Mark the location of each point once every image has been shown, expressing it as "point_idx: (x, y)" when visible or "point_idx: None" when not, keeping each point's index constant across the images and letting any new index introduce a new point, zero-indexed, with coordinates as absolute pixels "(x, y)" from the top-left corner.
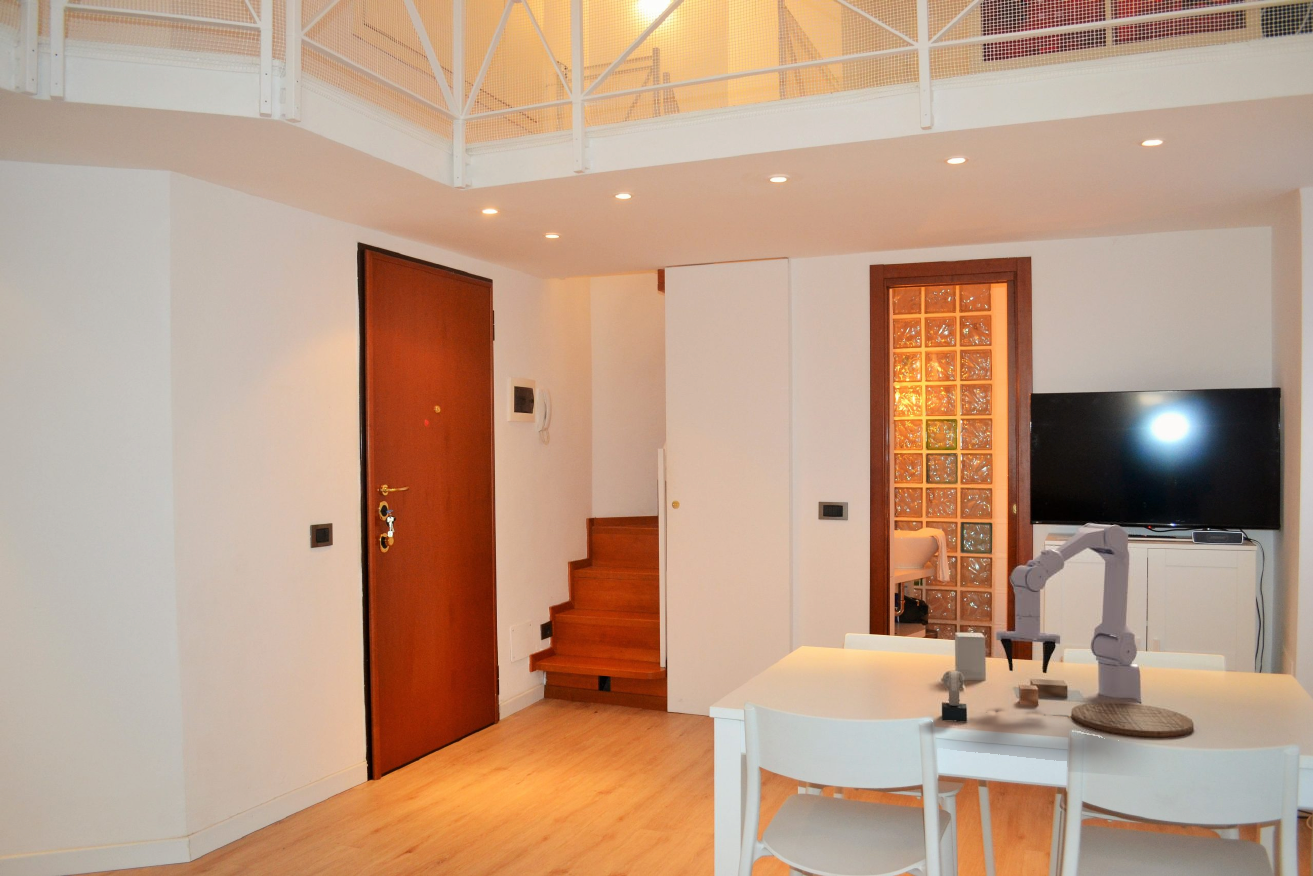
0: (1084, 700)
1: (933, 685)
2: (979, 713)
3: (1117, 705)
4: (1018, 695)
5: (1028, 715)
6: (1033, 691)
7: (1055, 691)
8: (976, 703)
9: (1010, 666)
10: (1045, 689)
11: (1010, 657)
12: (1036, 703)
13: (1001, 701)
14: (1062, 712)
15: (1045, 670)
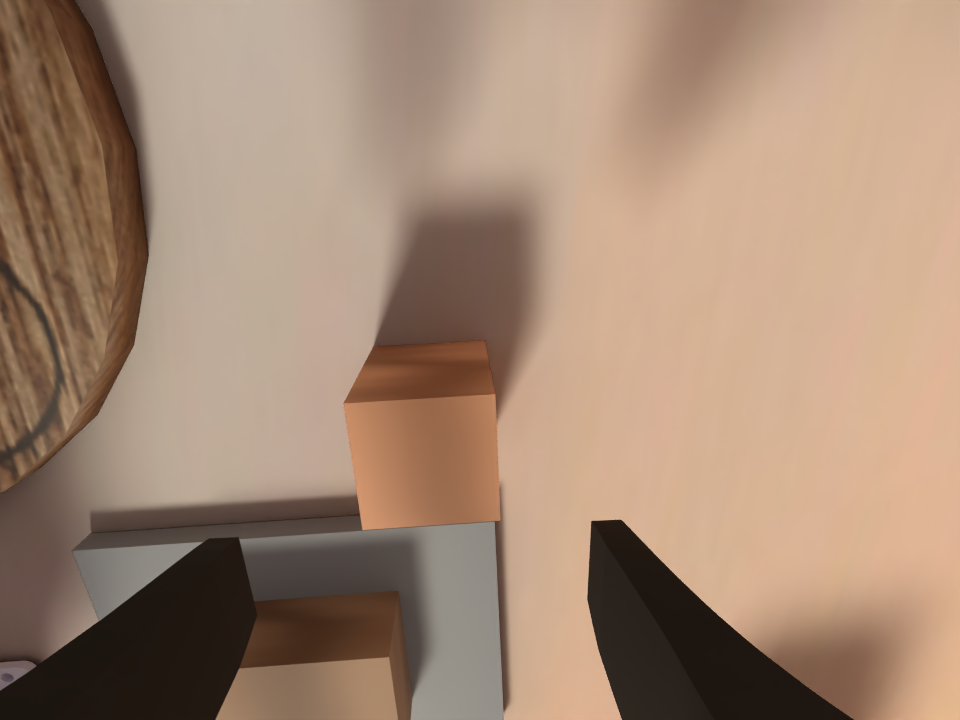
0: (91, 574)
1: (894, 709)
2: (784, 126)
3: None
4: (485, 578)
5: (442, 171)
6: (386, 392)
7: (254, 630)
8: (747, 405)
9: (638, 547)
10: (314, 634)
11: (698, 646)
12: (378, 361)
13: (586, 495)
14: (219, 331)
15: (196, 555)
